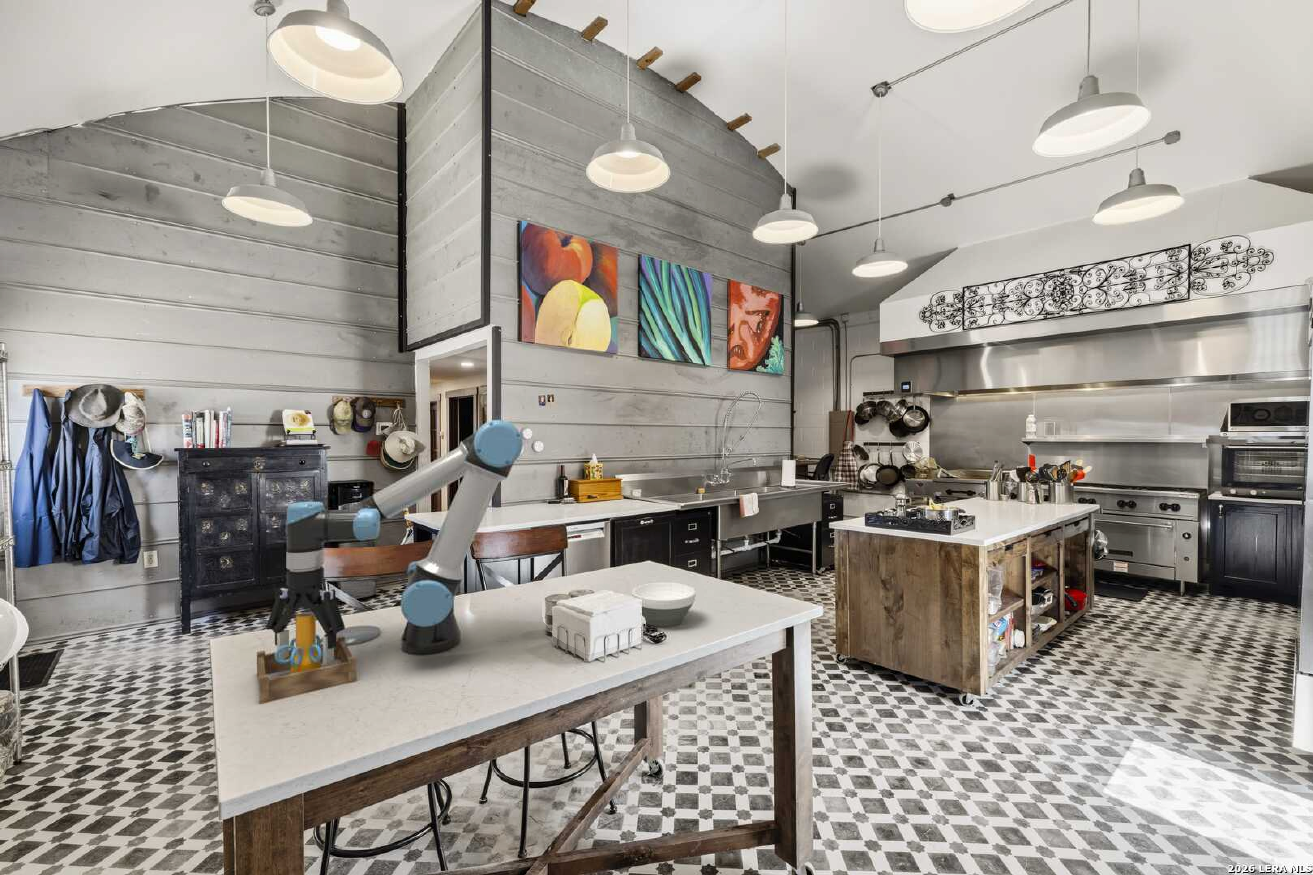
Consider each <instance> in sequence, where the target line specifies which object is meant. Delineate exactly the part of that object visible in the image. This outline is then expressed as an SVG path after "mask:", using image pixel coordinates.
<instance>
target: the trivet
mask: <svg viewBox="0 0 1313 875" xmlns="http://www.w3.org/2000/svg"><path fill="white" fill-rule="evenodd" d="M343 635H344V636H345V644H346V645H347V647H348V646H355V645H356V646H357V645H360V644H364V643H367V642H371V641H372V640H375V639H377V638H378V637H379V636H380V635H381V628H380V627H378V626H374V625H355V626H349V627H345V629H344V630H342V631H340V632H338V633H337V634H336V640H337V637H338V636H343Z"/></svg>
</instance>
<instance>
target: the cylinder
mask: <svg viewBox="0 0 1313 875" xmlns="http://www.w3.org/2000/svg"><path fill="white" fill-rule="evenodd" d="M316 622H317V618H316V616H315V615H314V613H313V612H311V611H307V612H301V613H298V614H296V615H295V637H294V638H292V639H291V641H290V642H289V645H284V646H281V647H280V648H278V650H277V649H276V651H275V652H276V653H275V652H274V653H275V660H276V661H277V662H279V663H282V664H284V663H288V662H290V663H291V669H290V674H294V673H298V672H303V671H307V670H312V669H317V668H321V667H322V666H321V665H322V664H321V663H322V662H321V658H322V655H323V652H322V651H321V649H320V647H319V646H320V644H321V643H323V637H322V638H321V637H320V635H318V634H317V629H316V628H317V627H316V626H317V625H316ZM294 645H295V646H294ZM285 648H289V650H291V653H292V654H291V657H290V658H289V659H287V660H281V659H280V658H279V653H280V651H281V650H283V649H285ZM334 648H335V647H334Z"/></svg>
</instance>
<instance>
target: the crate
mask: <svg viewBox="0 0 1313 875" xmlns="http://www.w3.org/2000/svg"><path fill="white" fill-rule="evenodd" d="M319 647H320V649H321V651H322V652H323V642H322V643H321V644H320V646H319ZM275 653H276V651H275V652H269V653H266V650H260V651H257V652H256V677H257V679H258V687H259V688H258V690H259V692H258V694H259V695H258V696H259V697H258V698H259V701H258V702H259V705H261V704H264V703H269V702H272V701H277V700H281V699H285V698H289V697H292V696H294V697H295V696H297V695H302V694H306V693H310V692H314V691H318V690H319V691H320V690H323V689H326V688H331V687H334V686H335V687H336V686H339V685H344V684H349V683H354V682H357V657H356V655H352V653H351V651H350V649H349V648H348V646H347V645H346V644H345V636H344V635H343V636H338V637H337V640H336V647H335V648H334V660H333V661H335V660H340V663H335V664H331V665H327V666H321V668H317V669H312V670H307V671H303V672H298V673H294V674H291V673H290V674H286V675H285V674H284V675H280V676H276V677H272V678H271V677H270V676H269V674H274V673H278V672H279V673H280V672H283V671H287V670H291V663H290V662H288V663H284V664H282V663H279V662H277V661H276V660H275ZM291 654H292V653H291V650H290V649H289V657H288V658H285V659H283V660H287V659H289V658H290V657H291ZM321 663H323V655H322V658H321Z"/></svg>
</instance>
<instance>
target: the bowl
mask: <svg viewBox="0 0 1313 875" xmlns="http://www.w3.org/2000/svg"><path fill="white" fill-rule="evenodd" d="M696 592H697V591H696V589H695V588H694V587H692V586H689V585H686V584H684V583H683V584H682V583H678V582H677V583H676V582H652V583H645V584H641V585H638V586H635V587H634V588H632V592H631V595H632V598H633V597H634V598H638V599H641V600H642V614H641V616H642V617H643V618H644V619H645V622H646V624H648V625H650V626H653V627H656V628H672V627H676V626H678V625H681V623H683V620H684V618H685V617H686V616H687V615H688V613H689V610H690V609H691V608H692V606H693V605H694V602H695V600H696V599H695V598H696V594H697V593H696Z"/></svg>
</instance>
